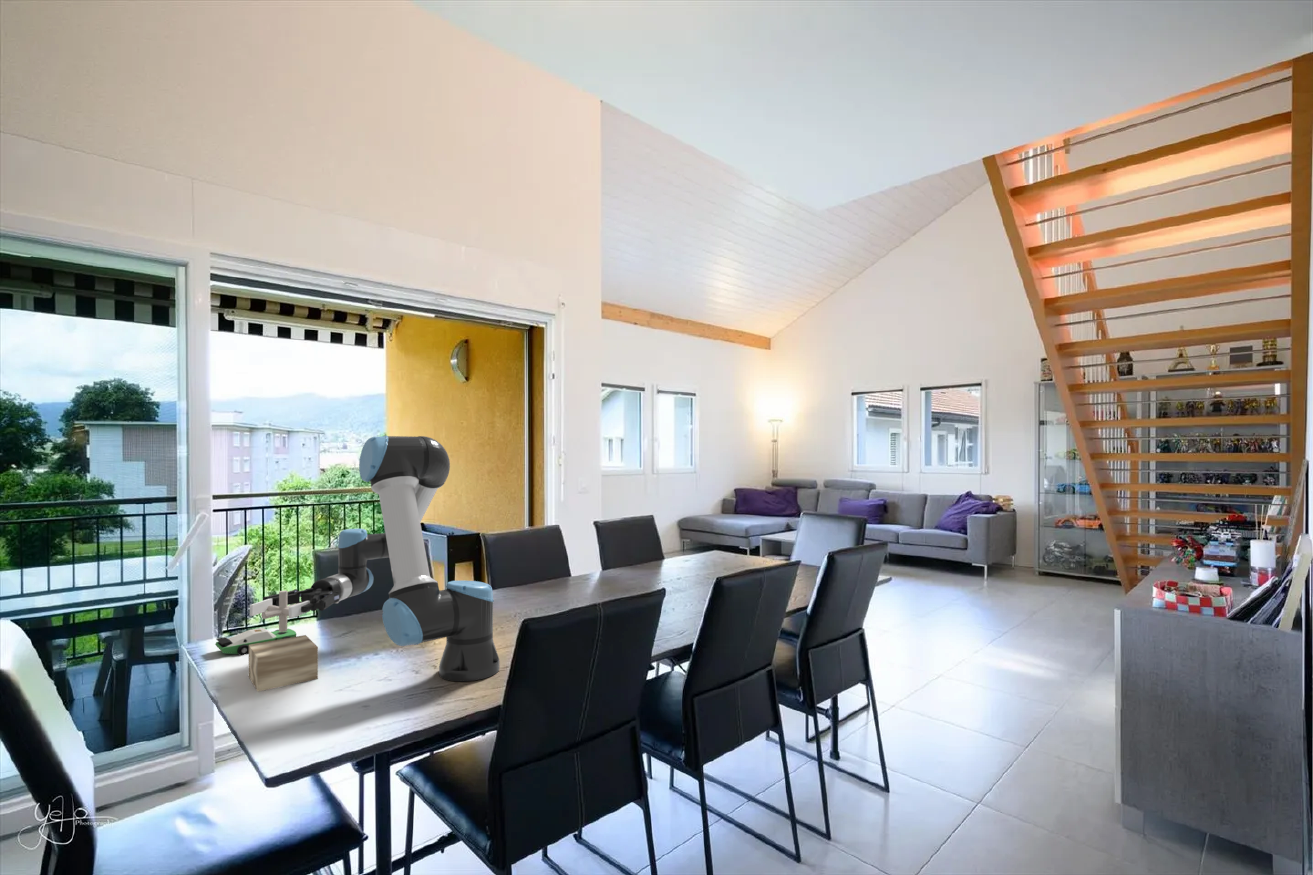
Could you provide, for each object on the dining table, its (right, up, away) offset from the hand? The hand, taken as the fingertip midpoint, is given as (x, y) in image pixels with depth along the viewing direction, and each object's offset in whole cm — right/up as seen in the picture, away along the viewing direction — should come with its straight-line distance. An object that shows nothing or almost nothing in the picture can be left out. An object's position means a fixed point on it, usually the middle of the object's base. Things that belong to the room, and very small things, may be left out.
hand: (270, 611), depth 159 cm
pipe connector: (+1, -6, +4) cm, 8 cm away
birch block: (+1, -18, +4) cm, 18 cm away
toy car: (-21, -18, +28) cm, 39 cm away
